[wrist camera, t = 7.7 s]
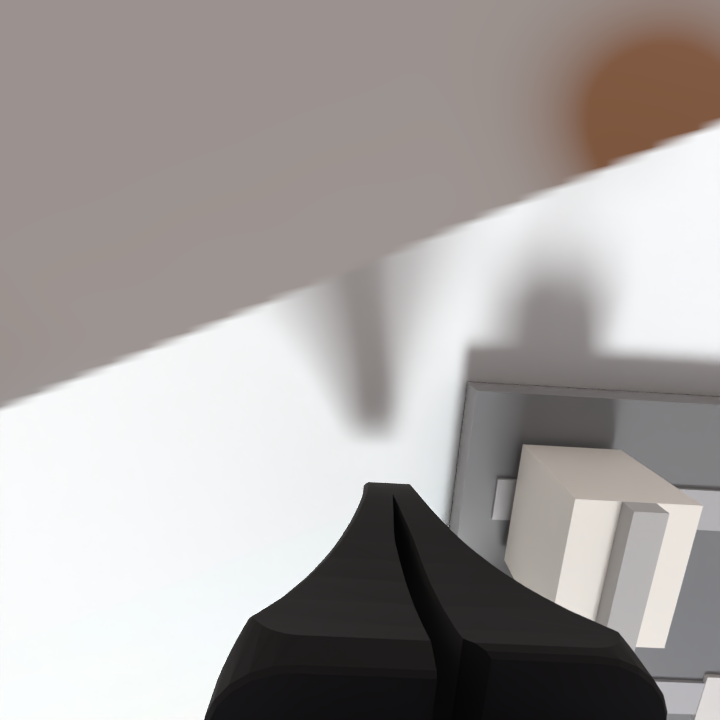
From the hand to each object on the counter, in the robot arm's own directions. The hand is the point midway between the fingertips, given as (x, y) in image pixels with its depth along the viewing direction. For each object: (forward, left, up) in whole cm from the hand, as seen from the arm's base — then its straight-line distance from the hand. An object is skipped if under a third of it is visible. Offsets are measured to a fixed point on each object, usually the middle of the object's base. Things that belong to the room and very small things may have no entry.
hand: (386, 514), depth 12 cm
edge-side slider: (-5, 0, -1) cm, 6 cm away
